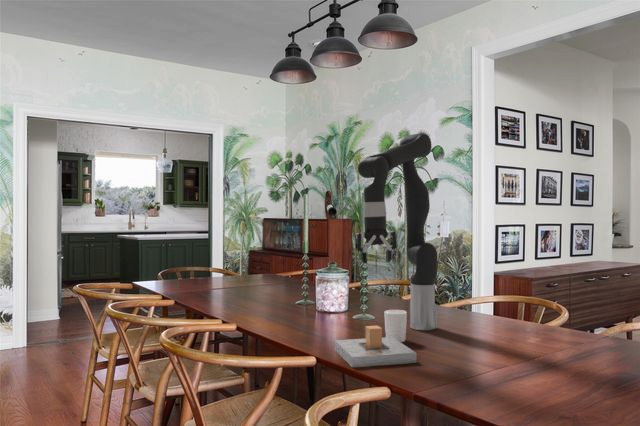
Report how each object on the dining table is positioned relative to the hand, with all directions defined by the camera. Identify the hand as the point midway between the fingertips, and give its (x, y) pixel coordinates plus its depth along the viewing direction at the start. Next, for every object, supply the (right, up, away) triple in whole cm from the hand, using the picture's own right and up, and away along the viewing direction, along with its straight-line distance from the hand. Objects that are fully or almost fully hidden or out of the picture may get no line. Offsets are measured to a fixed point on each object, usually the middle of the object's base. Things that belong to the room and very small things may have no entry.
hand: (376, 262), depth 175 cm
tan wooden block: (-3, -28, -15) cm, 32 cm away
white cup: (+7, -28, +5) cm, 29 cm away
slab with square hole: (-3, -28, -15) cm, 32 cm away
